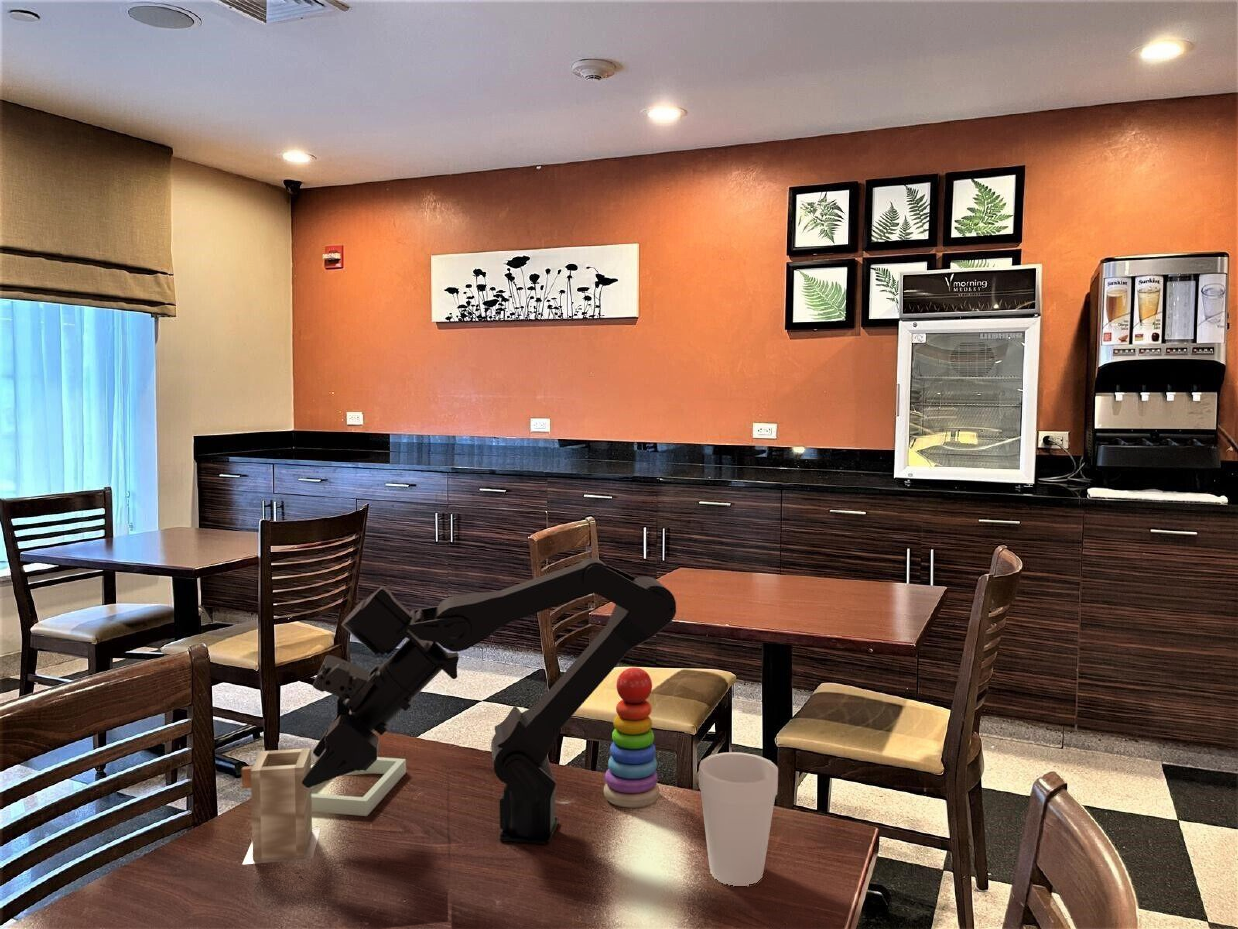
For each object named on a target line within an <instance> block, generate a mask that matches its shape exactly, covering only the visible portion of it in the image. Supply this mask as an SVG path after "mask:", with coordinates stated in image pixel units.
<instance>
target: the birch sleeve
mask: <svg viewBox="0 0 1238 929" xmlns="http://www.w3.org/2000/svg"><path fill="white" fill-rule="evenodd" d="M311 751H312V749H311V747H310V748H309V747H308V748H297V749H296V748H294V749H293V748H292V749H291V748H290V749H278V750H277V749H276V750H261V751H260V752H259V754H258V757H257V758H256V760H255V762H254V763H253V765H250V766H242V768H241V789H250V790H251V791H250V792H251V793H250V794H251V798H250V799H251V831H252V833H251V835H252V837H251V838H252V840H251V843H253V859H263V858H275V857H287V856H298V855H305V853H306V850H307V847H308V843H309V840H310V837H311V833H312V828H313V818H312V817H313V816H312V813H313V812H312V800H311V793H312V790H311V787H310V788H307V787H305V786H304V785H303V784H302V780H303V779H304V778H305V776H306V775H307V773H308V772H309V770H310V769H311V768H312V760H311V759H312V758H311V756H312V755H311V754H312V752H311Z"/></svg>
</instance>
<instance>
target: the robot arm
mask: <svg viewBox="0 0 1238 929" xmlns="http://www.w3.org/2000/svg"><path fill="white" fill-rule="evenodd" d="M591 594H596V595H598V596H600V597H602V598H603V599H606V600H607V601H609V602H611V603H613V604H615V605H614V607H613V609H612V611H611V613H610V616H609V619H608V620H607V623H606V625H605V626H604V628H603V629H602V630H600V632H599V633H598V634H597V635H596V636H595V638H594V639H593V640H592V641H591V642H590V643H589V644H588V646H587V647H586V648H585V649H584V650H583V651H582V653H580V655H579V656H578V657H577V658H576V659H575V660H574V661H573V663H572V664H571V665H569V667H568V668H567V669H566V671H565V672H564V673H563V674H562V675H561V676H560V677H559V678H558V679H557V680H556V681H555V683H554V684H553V685H552V686H551V688H549V690H547V692H546V693H545V694H544V695H543V696H542V697H541V699H540V700H538V702H537V703H535V705H533V706H532V707H530V708H528V709H527V710H525V711H521V710H520V709H519V708H518V707H517V706H516V705H515V706H513V707H512V708H511V710H510V712H509V713H508V714H507V715H506V718H505V719H504V720H503V721H502V722H500V723H499V724H497V725H495V726H494V733H495V734H494V735H493V736H492V739H491V744H490V748H491V749H490V751H491V758H492V765H493V770H494V773H495V776H496V777H497V778H498V779H499V781H501V782H502V783H504V784H505V786H504V787H503V792H502V795H501V796H500V798H499V829H500V830H502V831H501V833H500V835H499V840H500V841H502V842H514V843H516V842H517V843H525V844H526V843H528V844H541V845H548V844H550V842H551V839H552V838H553V834H554V832H555V831H556V828H557V826H558V824H559V818H558V817H556V785H557V784H556V780H555V777H554V773H553V770H552V766H551V764H550V760H549V757H548V755H549V753H550V751H551V749H552V746H553V744H554V741H555V739H556V737H557V735H558V733H559V731H561V729H562V727H563V726H565V724H566V723H567V722H568V721H569V720H570V719H571V717H572V716H573V715H574V714H575V713H576V712H577V710H578V709H579V708H580V707H581V706H582V705H583V704H584V703H585V702H586V700H587V699H588V698H589V697H590V696H591V695H592V694H593V692H594V691H595V690H596V689H597V688H598V687H599V686H600V685H601V684H602V683H603V681H604V680H605V679H606V678H607V676H609V675H610V674H611V672H612V671H613V670H614V669H615V668H616V667H617V666H618V664H619V663H620V662H621V661H622V660H623V659H624V657H626V655H627V654H628V653H629V652H630V651H631V650H632V649H634V648H636V647H638V646H640V645H641V644H644V643H645V642H647V641H649V640H651V639H652V638H653V637H655V636H656V635H657V634H659V633H660V632H661V631H662V630H664V629H665V628H666V627H668V625H670V624H671V622H672V621H673V620H674V618H675V617H676V614H677V603H676V600H675V596H674V595H673V593H672V592H671V591H670V589H668V588H667V587H666V586H665V585H664V584H663V583H661V582H660V581H659V580H657V579H655V578H654V577H651V576H638V577H636V576H633V575H631V574H629V573H627V572H625V571H623V570H621V569H618V568H615V567H613V566H610V565H609V564H606V563H604V562H603V561H602V560H601V559H599V558H596V557H587V558H585V559H583V560H582V561H580V562H578V563H575V564H572V565H570V566H567V567H564V568H562V569H558V570H555V571H552V572H549V573H546V574H544V575H540V576H538V577H535V578H532V579H529V580H526V581H524V582H521V583H519V584H515V585H512V586H509V587H507V588H503V589H501V590H495V591H488V592H471V593H466V594H461V595H454V596H450V597H447V598H446V599H444V600H442V601H441V602H440V603H439V604H438V605H435V606H430V607H424V608H418V609H417V608H416V609H412V610H411V611H409V610H408V609H407V607H405V606H404V605H403V604H402V603H400V601H398V599H396V598H395V597H394V595H393V594H392V592H391V591H390V590H389V589H388V588H387V587H386V586H384V585H381V586H380V587H379V588H378V589H377V590H376V591H374V592H373V593H372V594H370V595H369V596H368V597H367V598H363V599H362V601H360V602H359V604H357V605H356V607H354V608H353V610H352V611H350V612H349V614H348V615H347V616H346V617H345V619H344V620H343V622H342V623H341V626H342V627H343V628H344V629H345V631H347V632H349V633H350V634H351V636H353V637H354V638H355V639H356V640H358V641H359V643H361V644H362V646H364V647H365V648H366V649H367V650H368V651H369V652H371V653H372V654H373V655H374V656H375V655H376V656H377V655H378V654H380V655H381V656H383V655H389V654H390V653H392V652H393V651H395V650H396V649H397V647H399V645H400V644H401V643H402V642H404V640H405V639H406V638H407V640H406V641H405V642H404V643H403V644H402V645H401V646H400V647H399V648H398V649H397V650H396V651H395V652H394V653H393V654H392V655H391V656H390V657H389V658H388V659H387V660H386V661H385V662H384V663H383V664H381V663H379V664H378V665H377V664H375V665H374V666H373V667H372V668H371V669H370V670H367V669H364V668H363V667H361V666H359V665H358V664H354V663H352V662H350V661H347V660H345V659H342V658H340V657H338V656H335V655H330V654H327V655H325V658H324V659H323V662H322V664H321V666H320V668H319V670H318V672H317V675H316V677H315V678H314V682H313V683H312V687H313V689H315V690H317V691H319V692H321V693H324V692H326V693H328V694H331V695H333V696H336V697H337V701H336V711H337V712H336V715H335V717H334V718H333V720H332V721H331V723H330V725H329V726H328V727H327V729H326V731H325V732H324V734H323V735H322V736H321V738H320V740H318V743H317V745H316V746H315V747H314V749H313V751H312V754H313V755H315V757H317V760H316V761H315V762H314V763H313V764H312V765H311V769H310V770H309V772H308V773H307V775H306V776H305V778H304V779H303V780H302V784H303V785H304V786H305V787H307V788H310V787H312V786H315V785H316V786H318V785H320V784H322V783H325V782H328V781H331V780H333V779H335V778H339V777H341V775H342V776H345V775H344V774H347V773H350V772H353V771H356V770H357V771H361V770H364V771H366V770H367V769H368V768H369V767H370V766H371V765H372V764H373V763H374V762H375V761H376V760H377V757H379V756H378V755H379V751H380V738H379V737H378V736H377V735H376V734H375V733H374V732H373V730H374V731H375V732H376V733H378V734H379V735H380V736H382V735H384V734H385V733H386V732H387V730H388V726H389V724H390V723H391V721H392V720H394V718H396V716H397V715H398V714H400V712H402V711H404V712H406V711H407V710H409V708H410V707H412V702H413V699H414V698H416V697H417V695H419V693H420V692H421V691H422V690H423V689H425V687H426V686H427V685H428V684H429V683H430V682H431V681H433V679H434V678H435V677H436V676H437V675H439V674H440V672H442V671H443V672H445V674H446V675H447V676H449V677H450V678H451V679H452V680H455V679H457V678H458V663H459V660H460V656H459V655H460V654H459V652H463V651H466V650H468V649H470V648H472V647H473V646H475V645H477V644H478V643H481V642H482V641H484V640H486V639H488V638H490V636H492V635H494V634H495V633H496V632H497V631H498V630H500V629H501V628H503V627H505V626H506V625H508V624H510V623H511V622H515V621H517V620H521V619H523V618H526V617H529V616H532V615H535V614H537V613H540V612H543V611H546V610H548V609H551V608H554V607H558V606H560V605H562V604H565V603H568V602H571V601H574V600H577V599H579V598H582V597H585V596H588V595H591ZM445 649H446V650H448V651H450V652H447V651H446V650H445ZM316 786H315V787H316Z"/></svg>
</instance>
